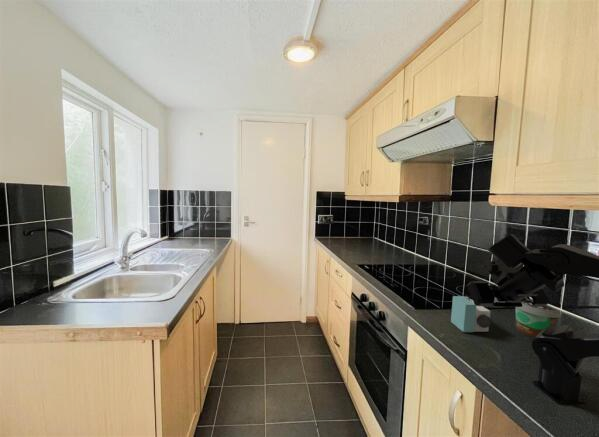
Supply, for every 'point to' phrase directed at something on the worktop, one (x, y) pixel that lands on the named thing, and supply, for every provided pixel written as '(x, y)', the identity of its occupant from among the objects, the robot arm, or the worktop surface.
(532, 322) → the food container
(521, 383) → the worktop surface
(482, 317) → the camera housing
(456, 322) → the teal block
